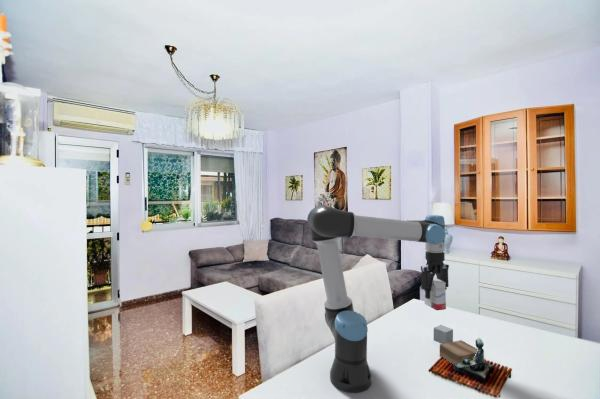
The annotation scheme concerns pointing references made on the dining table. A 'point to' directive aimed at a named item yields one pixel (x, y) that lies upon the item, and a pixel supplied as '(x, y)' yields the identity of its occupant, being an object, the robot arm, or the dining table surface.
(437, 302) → the ink box
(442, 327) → the slate block
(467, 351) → the walnut block
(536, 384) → the dining table surface
